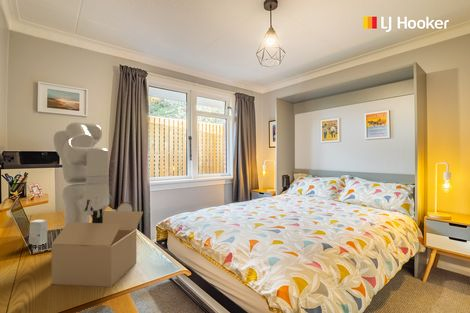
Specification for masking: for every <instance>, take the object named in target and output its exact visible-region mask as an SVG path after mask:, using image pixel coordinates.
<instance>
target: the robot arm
mask: <svg viewBox="0 0 470 313" xmlns="http://www.w3.org/2000/svg"><path fill="white" fill-rule="evenodd" d="M102 136H103V132H102V128H101V126H99V125H98V124H95V123H87V122H72V123H69V124H68V125H66V128H65V130H59V131H56V132H55V133H54V135H53V145H54V148H55V151H56V153H57V155H58V156H59V158H60V161H61V166H62V173H63V174H62V175H63V178H64V181H65V182H66V183H67V184H68V185H67V186H65V187H63V189H62V199H63V205H64V227H65V226H66V224H67V223H68V222H75V223H90V218H91V222H92V223H103V215H104V211H106V210H107V209H108V206H109V205H110V185H109V183H110V182H109V179H110V177H109V169H110V167H109V166H110V162H109V161H110V154H109V150H108V149H107V148H103V147H95V146H96V145H97V144H98V143H99V142H100V141H101V139H102Z"/></svg>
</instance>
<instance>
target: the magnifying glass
mask: <svg viewBox="0 0 470 313" xmlns="http://www.w3.org/2000/svg"><path fill="white" fill-rule="evenodd" d="M115 210H116V211H134V207H133V205H132V204H131V203H130V202H128V201H127V202H126V201H125V202H124V201H123V202H121V203H120V204H118V206H117V207H116V209H115Z"/></svg>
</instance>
